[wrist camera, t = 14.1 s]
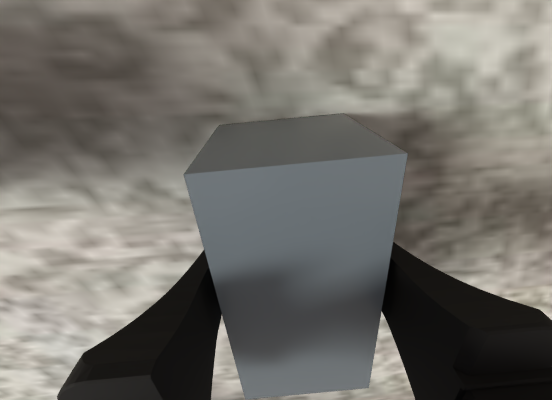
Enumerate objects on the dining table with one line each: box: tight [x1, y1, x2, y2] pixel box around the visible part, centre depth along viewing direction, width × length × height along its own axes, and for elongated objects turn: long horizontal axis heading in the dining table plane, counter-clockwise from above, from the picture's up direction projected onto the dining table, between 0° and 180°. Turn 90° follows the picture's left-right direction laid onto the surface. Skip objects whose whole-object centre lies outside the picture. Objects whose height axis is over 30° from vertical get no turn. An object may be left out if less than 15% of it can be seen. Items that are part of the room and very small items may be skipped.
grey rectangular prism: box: [184, 113, 408, 400], centre depth 13 cm, size 12×6×6 cm, turn 5°
